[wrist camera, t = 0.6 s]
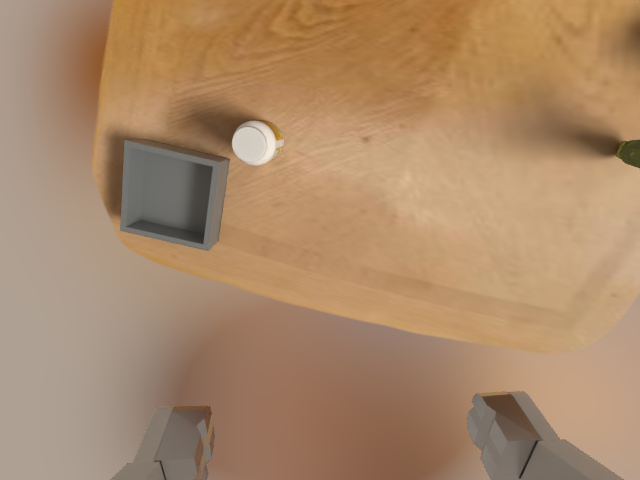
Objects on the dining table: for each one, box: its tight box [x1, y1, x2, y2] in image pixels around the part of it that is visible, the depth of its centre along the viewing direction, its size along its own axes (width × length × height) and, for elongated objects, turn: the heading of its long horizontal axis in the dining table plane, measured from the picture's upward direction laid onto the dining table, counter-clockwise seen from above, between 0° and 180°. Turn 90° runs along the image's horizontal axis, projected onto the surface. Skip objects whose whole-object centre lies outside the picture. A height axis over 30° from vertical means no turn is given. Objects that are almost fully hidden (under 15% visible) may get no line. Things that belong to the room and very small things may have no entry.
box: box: [120, 139, 230, 251], centre depth 51 cm, size 13×13×4 cm
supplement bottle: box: [232, 121, 284, 165], centre depth 45 cm, size 5×5×10 cm
